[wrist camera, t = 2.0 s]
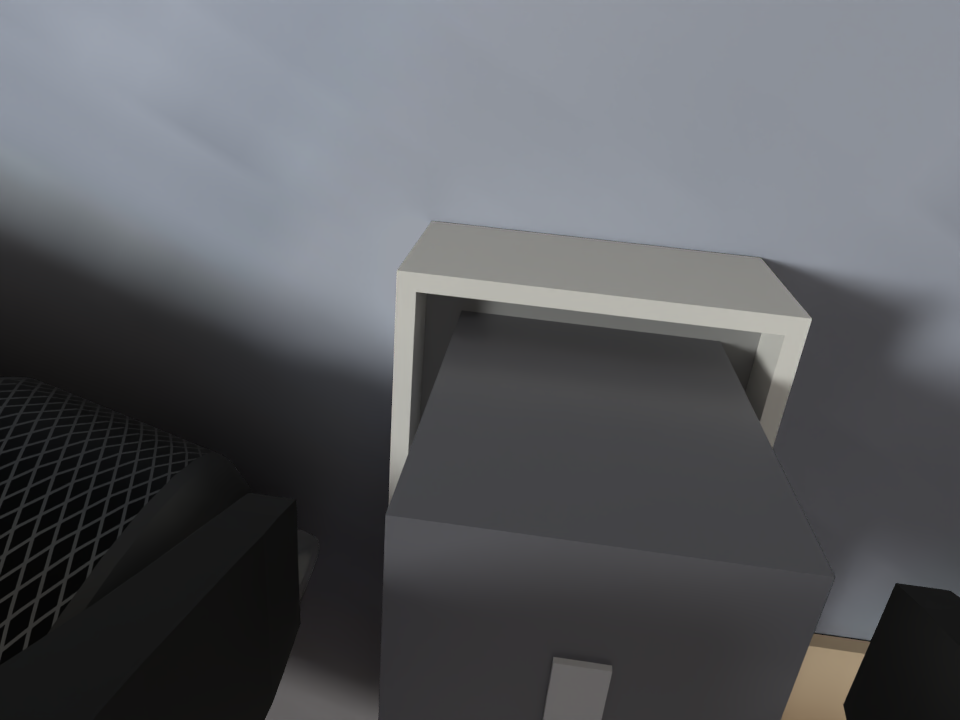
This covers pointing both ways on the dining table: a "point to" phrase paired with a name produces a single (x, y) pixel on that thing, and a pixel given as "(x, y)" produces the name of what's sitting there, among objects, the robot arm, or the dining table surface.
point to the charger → (593, 536)
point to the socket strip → (588, 307)
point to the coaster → (825, 678)
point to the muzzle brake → (94, 505)
